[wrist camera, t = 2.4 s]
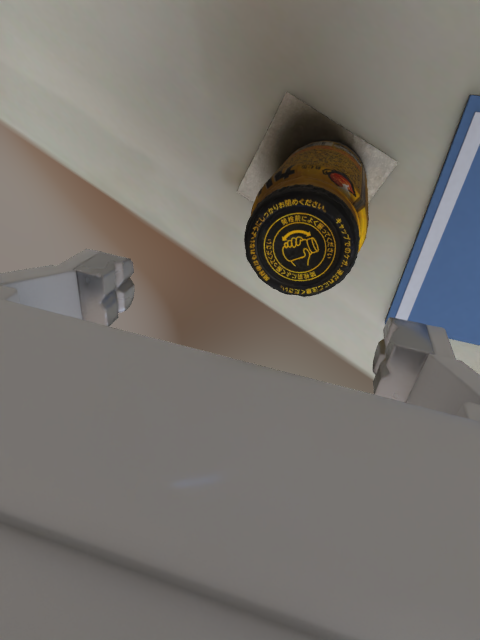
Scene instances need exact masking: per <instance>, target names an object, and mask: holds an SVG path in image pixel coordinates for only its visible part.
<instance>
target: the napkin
mask: <svg viewBox="0 0 480 640" xmlns="http://www.w3.org/2000/svg"><path fill="white" fill-rule="evenodd" d="M390 317H393V318H398V319H403V320H408V321H413V322H418V323H423V324H426V325H431V326H436V327H442V328H444V329H445V330H446V333H447V336H448V338H449V339H454V340H458V341H462V342H467V343H471V344H476V345H480V96H476V95H470V96H469V99H468V102H467V104H466V107H465V110H464V112H463V115H462V118H461V120H460V123H459V126H458V128H457V131H456V134H455V136H454V139H453V142H452V144H451V147H450V150H449V152H448V155H447V158H446V160H445V163H444V166H443V168H442V171H441V174H440V176H439V179H438V182H437V184H436V187H435V190H434V192H433V195H432V198H431V200H430V203H429V206H428V208H427V211H426V214H425V216H424V219H423V222H422V224H421V227H420V230H419V232H418V235H417V238H416V240H415V243H414V246H413V248H412V251H411V254H410V256H409V259H408V262H407V264H406V267H405V270H404V272H403V275H402V278H401V280H400V283H399V286H398V288H397V291H396V294H395V296H394V299H393V302H392V304H391V307H390V310H389V312H388V315H387V318H386V320H385V324H386V322H387V320H388V318H390Z"/></svg>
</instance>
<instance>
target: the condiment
mask: <svg viewBox="0 0 480 640" xmlns="http://www.w3.org/2000/svg"><path fill="white" fill-rule="evenodd" d="M397 164H398V162H397V161H395V160H394V159H392V158H391V157H389V156H387V155H386V154H384V153H383V152H381V151H380V150H378V149H377V148H375V147H373V146H372V145H370V144H369V143H367V142H366V141H364V140H363V139H361V138H359V137H358V136H356V135H354V134H353V133H351V132H350V131H348V130H347V129H345V128H343V127H342V126H340V125H339V124H337V123H335V122H334V121H332V120H330V119H329V118H328V117H326V116H324V115H323V114H321V113H320V112H318V111H317V110H315V109H314V108H312V107H310V106H309V105H307V104H305V103H304V102H302V101H301V100H299V99H298V98H296V97H294V96H293V95H291V94H290V93H288V92H286V94H285V96H284V98H283V100H282V102H281V104H280V106H279V108H278V110H277V112H276V114H275V116H274V118H273V120H272V122H271V124H270V126H269V128H268V130H267V132H266V134H265V136H264V138H263V140H262V142H261V144H260V146H259V148H258V150H257V153H256V154H255V156H254V158H253V160H252V162H251V164H250V166H249V168H248V170H247V172H246V174H245V176H244V178H243V180H242V182H241V184H240V186H239V188H238V190H237V193H239V194H241V195H242V196H244V197H245V198H247V199H248V200H250V201H252V202H254V204H253V207H252V211H251V217H250V218H249V220H248V222H247V225H246V231H245V238H244V241H245V249H246V257H247V260H248V261H249V263H250V264H251V266H252V268H253V269H254V271H255V272H256V274H257V275H258V277H259V278H260V279H261V280H262V281H263V282H265V283H266V284H268V285H269V286H271V287H272V288H273V289H276V290H278V291H280V292H282V293H284V294H289V295H299V296H303V297H306V296H312V295H316V294H319V293H322V292H324V291H327V290H329V289H331V288H332V287H334V286H335V285H336V284H338V283H340V282H341V281H342V280H343V279H344V278H345V276H346V275H347V274H348V273H349V272H350V271H351V268H352V267H353V266H354V264H355V260H356V258H357V254H358V252H359V251H360V248H361V247H362V245H363V243H364V240H365V238H366V233H367V227H368V220H369V218H368V203H369V201H370V200H371V199H372V197H373V196H374V195H375V193H376V192H377V191H378V189H379V188H380V187H381V185H382V184H383V183H384V181H385V180H386V179H387V177H388V176H389V175H390V173H391V172H392V171H393V169H394V168H395V166H396V165H397Z"/></svg>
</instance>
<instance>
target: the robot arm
mask: <svg viewBox="0 0 480 640" xmlns="http://www.w3.org/2000/svg"><path fill="white" fill-rule="evenodd" d="M133 273H134V269H133V262H132V261H131V259H129V258H124V257H120V256H116V255H112V254H107V253H104V252H101V251H96V250H90V249H85V250H83V251H82V252H80V253H78V254H76V255H75V256H73V257H71V258H69V259H68V260H66V261H64V262H63V263H61V264H59V265H58V266H54V265H49V266H43V267H37V268H31V269H24V270H18V271H13V272H6V273H0V640H480V375H479V374H478V373H476V372H475V371H474V370H473V369H471V368H470V367H469V366H467V365H466V364H465V363H464V362H462V361H460V360H456V358H455V356H454V353H453V350H452V347H451V344H450V342H449V339H448V336H447V333H446V330H445V329H444V328H442V327H436V326H431V325H426V324H423V323H418V322H413V321H408V320H403V319H398V318H393V317H390V318H388V320H387V322H386V324H385V327H384V329H383V331H384V339H383V340H381V341H380V342H379V343H378V346H377V349H376V351H375V356H374V360H373V372H374V374H375V375H376V376H375V378H374V381H373V386H374V394H370V393H366V392H362V391H358V390H354V389H351V388H347V387H343V386H339V385H334V384H331V383H327V382H323V381H319V380H315V379H311V378H308V377H304V376H300V375H295V374H292V373H288V372H284V371H280V370H276V369H272V368H268V367H265V366H261V365H257V364H253V363H249V362H245V361H241V360H237V359H233V358H229V357H225V356H222V355H218V354H214V353H210V352H206V351H202V350H198V349H194V348H190V347H187V346H183V345H179V344H175V343H171V342H167V341H163V340H159V339H155V338H151V337H148V336H144V335H140V334H136V333H132V332H128V331H124V330H120V329H116V328H112V327H109V326H110V325H111V324H112V323H113V322H114V321H115V320H116V319H117V318H118V313H119V312H123V311H126V310H127V309H128V308H129V307H130V305H131V303H132V300H133V298H134V284H133V282H132V280H131V279H130V277H131V275H132V274H133Z"/></svg>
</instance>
